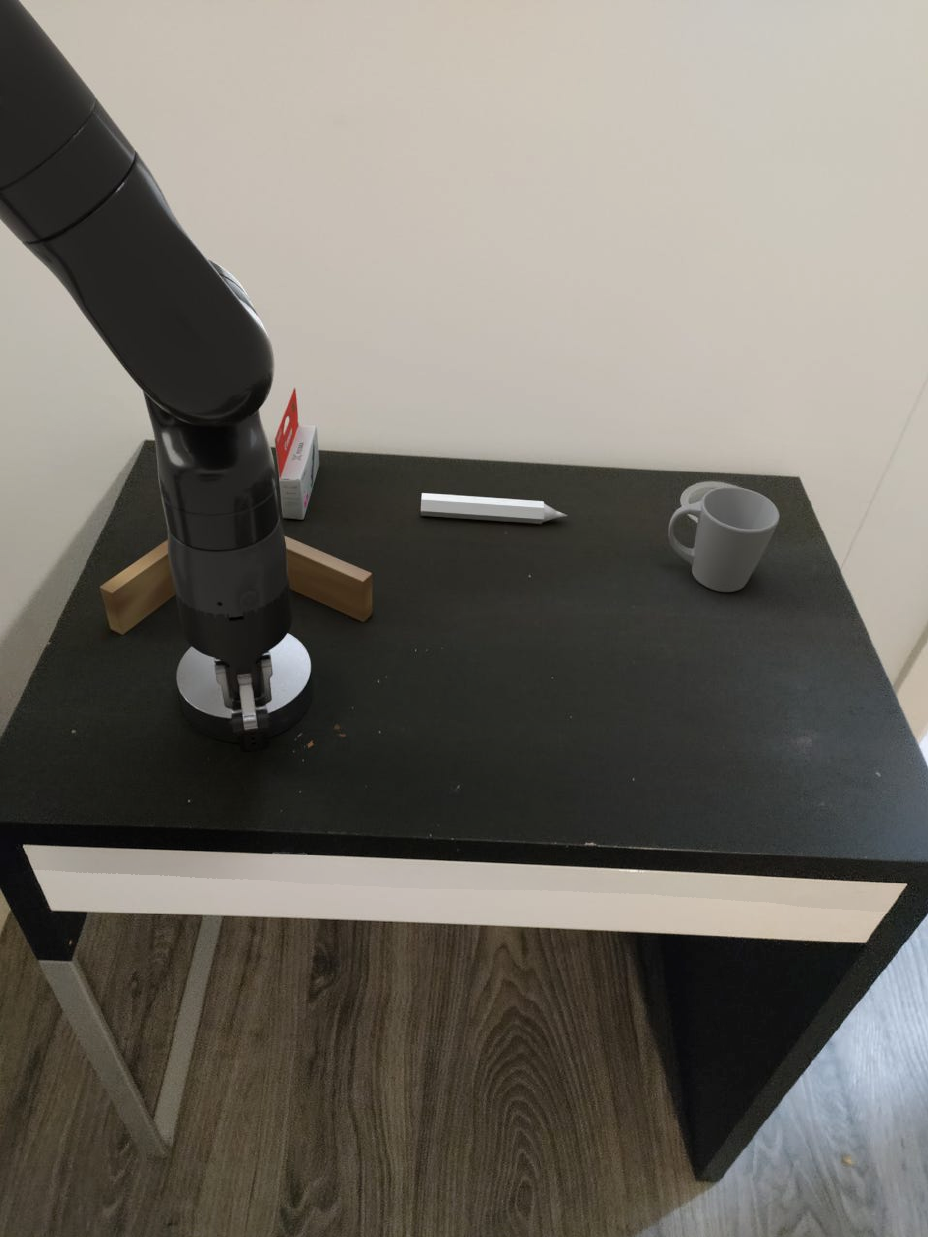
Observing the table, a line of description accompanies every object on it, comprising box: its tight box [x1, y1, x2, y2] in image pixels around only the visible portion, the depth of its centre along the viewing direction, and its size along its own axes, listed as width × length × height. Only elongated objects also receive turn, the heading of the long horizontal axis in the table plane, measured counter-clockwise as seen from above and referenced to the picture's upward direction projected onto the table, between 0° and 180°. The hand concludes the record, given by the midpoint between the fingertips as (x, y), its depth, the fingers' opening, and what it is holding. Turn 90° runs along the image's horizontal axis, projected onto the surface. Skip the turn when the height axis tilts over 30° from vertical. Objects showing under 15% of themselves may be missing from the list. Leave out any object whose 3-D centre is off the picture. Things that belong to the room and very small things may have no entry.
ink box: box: [274, 387, 320, 521], centre depth 99 cm, size 2×11×10 cm, turn 178°
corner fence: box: [99, 535, 373, 636], centre depth 85 cm, size 15×18×5 cm
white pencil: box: [420, 492, 569, 525], centre depth 100 cm, size 3×2×16 cm
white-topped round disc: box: [175, 632, 314, 744], centre depth 79 cm, size 11×11×3 cm
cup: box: [668, 486, 780, 593], centre depth 93 cm, size 8×10×8 cm
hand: (254, 744), depth 73 cm, fingers closed
